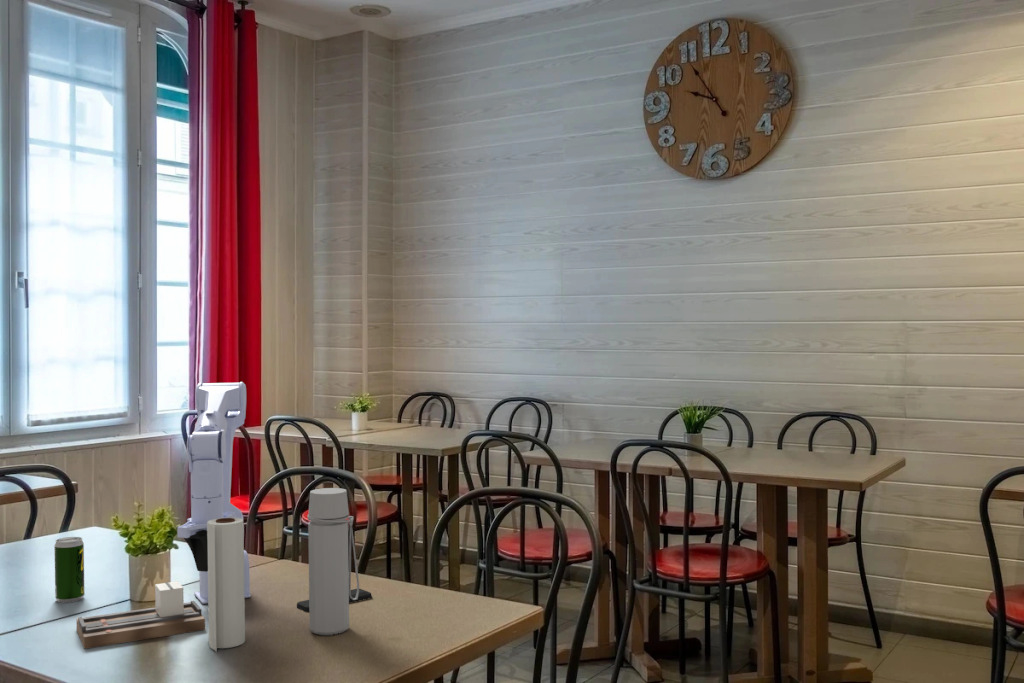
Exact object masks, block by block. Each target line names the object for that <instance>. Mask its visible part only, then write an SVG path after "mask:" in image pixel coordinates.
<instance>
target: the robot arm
mask: <svg viewBox="0 0 1024 683" xmlns="http://www.w3.org/2000/svg"><path fill="white" fill-rule="evenodd" d="M246 386H247V385H246V384H245V383H244V382H243V381H240V382H209V383H208V382H207V383H206V382H205V383H204V382H198V384H197V385H196V387H195V396H194V397H195V408H196V413H197V420H196V424H195V427H194V430H193V432H192V434H188V436H187V439H186V440H187V441H186V457H187V461H188V472H189V473H190V507H191V508H190V510H191V511H190V512H191V513H190V515H191V516H190V518H187V519H186V521H187V522H185V523H184V524H182V525H179V526H177V529H176V531H177V538H180V539H184V541H185V542H186V543H187V546H188V547H189V549H190V551H191V554H192V556H193V560H194V563H195V566H196V570H197V571H198V572H199V591H195V592H194V596H195V597H196V598H197V600H199V602H200V603H201V604H208V539H207V521H209V520H213V519H218V518H241V519H243V520H244V514H243V513H242V510H241V509H240V508H238V507H236V506H235V505H234V504H232V503H231V492H232V491H231V489H232V468H233V448H234V447H233V445H234V438H235V434H236V430H237V429H238V428H240V427H242V426H243V425H244V424H245V419H246V416H247V415H246V414H247V413H246V411H247V387H246ZM243 525H245V524H244V523H243ZM250 575H251V574H250V560H249V555H248V552H247V550H245V549H244V599H247V598H251V592H250V591H251V590H250V589H251V585H250V584H251V583H250V579H251V578H250Z"/></svg>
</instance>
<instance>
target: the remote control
mask: <svg viewBox="0 0 1024 683" xmlns="http://www.w3.org/2000/svg"><path fill="white" fill-rule="evenodd" d="M356 593H357V588H354V589H351V596H352V598H355V597H356ZM368 598H370V599H372V598H373V596H372V592H370V591H368V590H365V589H362V588H359V595H358V599H357V600H352V599H351V598H350V596H349V604H351V603H350V602H353V603H355V602H354V601H357V602H360V601H359V600H362V601H364V600H363V599H366V600H369V599H368ZM296 607H297V608H296V609H297V610H300V611H302V610H303V612H305V613H309V599H306V600H301V601H298V602H296Z"/></svg>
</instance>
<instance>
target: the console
mask: <svg viewBox="0 0 1024 683" xmlns="http://www.w3.org/2000/svg"><path fill="white" fill-rule="evenodd" d="M75 620H76V632H77V634H78V636H79V639H80V641H81V642H80V643H81V644H82V646H83V649H84V650H85V649H92V648H98V647H104V646H111V645H117V644H122V643H123V644H124V643H129V642H130V643H131V642H136V641H143V640H148V639H154V638H155V639H156V638H163V637H168V636H175V635H179V634H180V635H181V634H186V633H191V632H192V633H193V632H198V631H204V630H206V618H205V617H204V616H203V614H202V608H201V607H200V606H199V604H198V603H197V602H196V601H195V600H191V601H190V602H184V614H180V615H173V616H167V617H160V616H159V614H158V613H157V612H156V606H155V607H149V608H141V609H134V610H133V609H132V610H128V611H121V612H115V613H107V614H98V615H92V616H85V617H82V616H79V617H77V618H76V619H75Z"/></svg>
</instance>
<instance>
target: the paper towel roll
mask: <svg viewBox="0 0 1024 683" xmlns="http://www.w3.org/2000/svg"><path fill="white" fill-rule="evenodd" d="M243 524H244V518H243V519H241V518H218V519H213V520H209V521H207V539H208V603H207V606H208V646H209V647H210V649H211V650H214V651H215V653H218V652H217V649H229V648H230V649H231V648H234V647H238V646H240V645H243V644H244V643H245V642H246V615H245V614H246V612H245V609H246V607H245V606H246V604H245V602H246V601H245V600H246V598H244V550H245V547H244V546H245V543H244V542H245V540H244V539H245V538H244V537H245V529H244V528H245V526H244V525H245V524H244V525H243Z"/></svg>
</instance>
